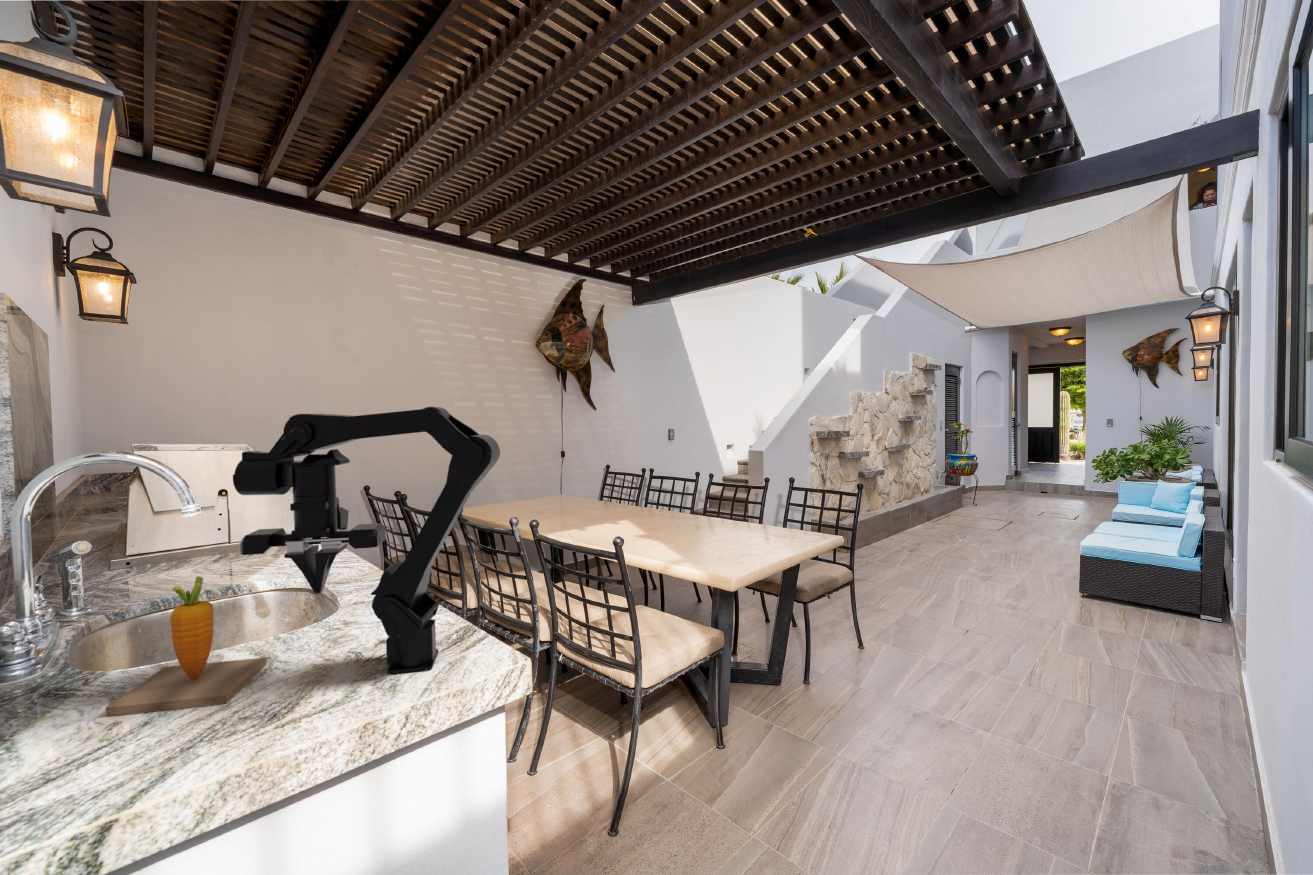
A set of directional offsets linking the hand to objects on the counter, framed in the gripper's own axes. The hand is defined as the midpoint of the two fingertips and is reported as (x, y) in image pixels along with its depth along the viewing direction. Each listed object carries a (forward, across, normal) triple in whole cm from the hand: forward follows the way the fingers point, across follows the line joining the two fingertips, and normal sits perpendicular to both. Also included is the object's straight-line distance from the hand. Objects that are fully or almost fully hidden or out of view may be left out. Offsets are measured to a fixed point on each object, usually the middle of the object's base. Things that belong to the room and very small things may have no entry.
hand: (318, 592), depth 87 cm
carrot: (+11, +16, +3) cm, 19 cm away
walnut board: (+12, +16, +3) cm, 20 cm away
